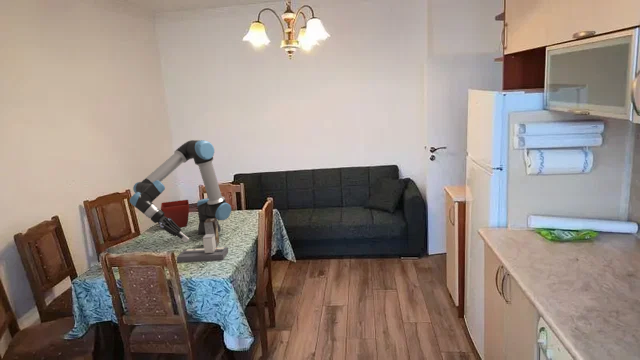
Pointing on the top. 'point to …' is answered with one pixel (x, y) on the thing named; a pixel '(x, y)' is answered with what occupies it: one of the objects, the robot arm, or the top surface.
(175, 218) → the plant pot
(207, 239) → the switch tab
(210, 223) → the coffee box
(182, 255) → the switch deck
